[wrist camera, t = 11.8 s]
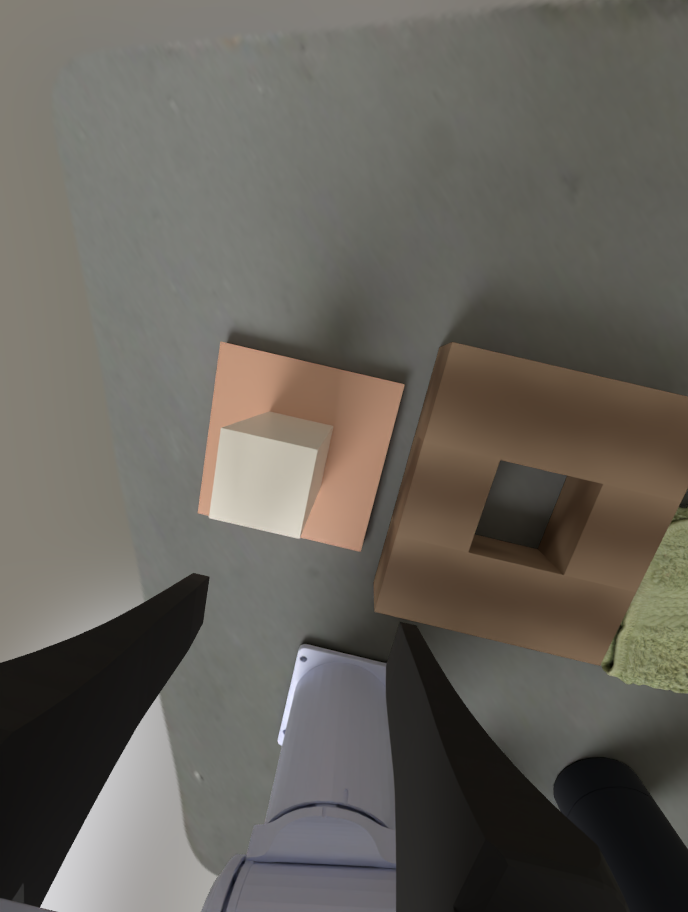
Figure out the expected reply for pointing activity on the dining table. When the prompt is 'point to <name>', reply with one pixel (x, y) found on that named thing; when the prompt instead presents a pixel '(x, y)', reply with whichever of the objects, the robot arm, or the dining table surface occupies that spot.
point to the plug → (269, 472)
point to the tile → (320, 400)
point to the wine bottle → (627, 833)
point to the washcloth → (657, 619)
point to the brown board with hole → (573, 519)
